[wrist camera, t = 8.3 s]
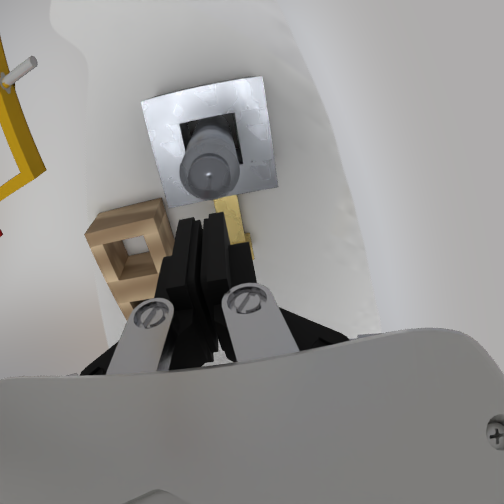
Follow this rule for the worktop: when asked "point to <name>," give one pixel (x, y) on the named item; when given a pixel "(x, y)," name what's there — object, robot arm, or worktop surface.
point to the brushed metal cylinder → (210, 160)
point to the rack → (135, 266)
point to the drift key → (233, 220)
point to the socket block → (207, 105)
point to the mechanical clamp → (17, 127)
